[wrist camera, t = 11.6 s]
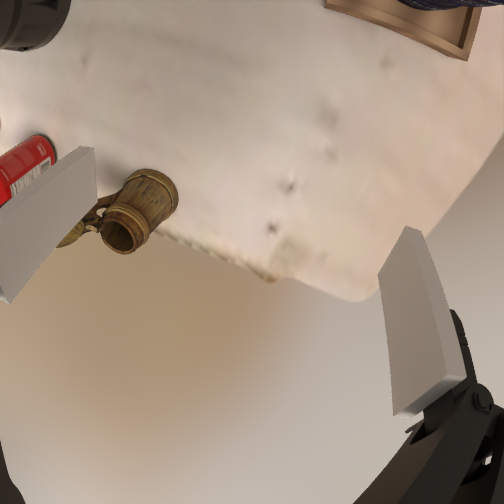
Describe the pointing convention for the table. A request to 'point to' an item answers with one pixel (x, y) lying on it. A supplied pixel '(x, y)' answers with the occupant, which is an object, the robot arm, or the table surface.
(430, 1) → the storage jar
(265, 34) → the table surface
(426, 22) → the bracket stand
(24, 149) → the soda can
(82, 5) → the table surface
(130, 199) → the wooden mug
